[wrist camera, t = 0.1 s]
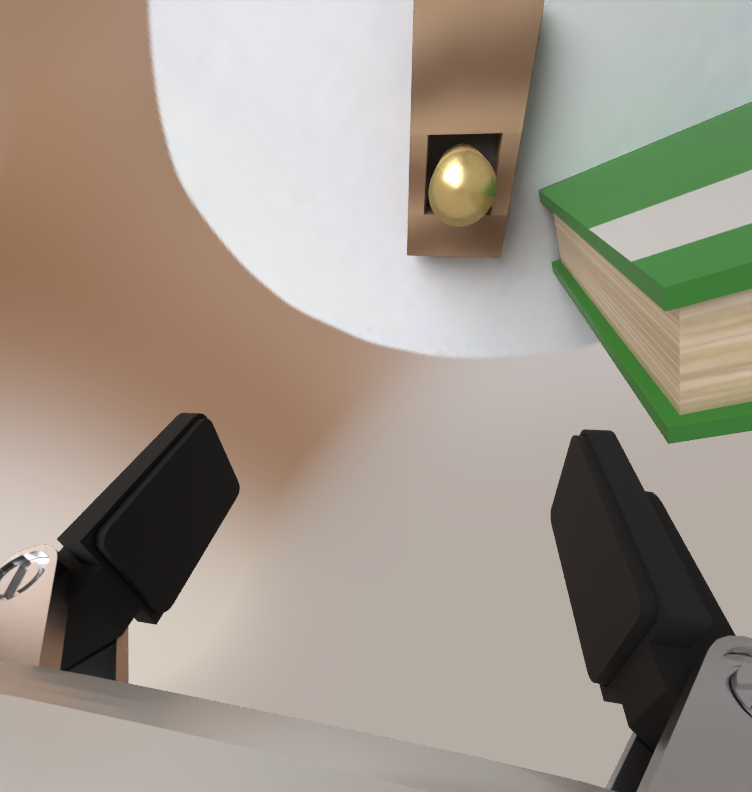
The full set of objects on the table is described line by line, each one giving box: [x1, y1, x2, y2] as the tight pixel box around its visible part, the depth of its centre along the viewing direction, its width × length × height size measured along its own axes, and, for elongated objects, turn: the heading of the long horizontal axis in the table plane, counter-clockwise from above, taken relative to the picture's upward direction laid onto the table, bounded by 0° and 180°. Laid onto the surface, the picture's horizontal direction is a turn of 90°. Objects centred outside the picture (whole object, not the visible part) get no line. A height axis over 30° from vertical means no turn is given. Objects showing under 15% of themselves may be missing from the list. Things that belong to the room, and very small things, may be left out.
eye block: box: [407, 0, 544, 258], centre depth 29 cm, size 16×8×4 cm, turn 1°
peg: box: [429, 144, 497, 227], centre depth 27 cm, size 4×4×12 cm
